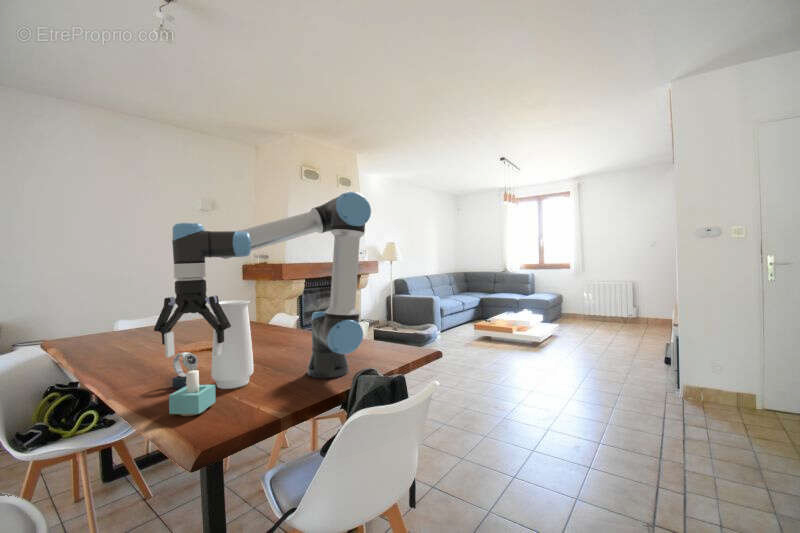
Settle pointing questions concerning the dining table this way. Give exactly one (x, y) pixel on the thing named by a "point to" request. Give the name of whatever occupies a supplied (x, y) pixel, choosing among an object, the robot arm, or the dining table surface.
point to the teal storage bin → (192, 400)
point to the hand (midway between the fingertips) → (194, 355)
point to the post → (192, 385)
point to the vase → (234, 348)
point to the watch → (188, 361)
